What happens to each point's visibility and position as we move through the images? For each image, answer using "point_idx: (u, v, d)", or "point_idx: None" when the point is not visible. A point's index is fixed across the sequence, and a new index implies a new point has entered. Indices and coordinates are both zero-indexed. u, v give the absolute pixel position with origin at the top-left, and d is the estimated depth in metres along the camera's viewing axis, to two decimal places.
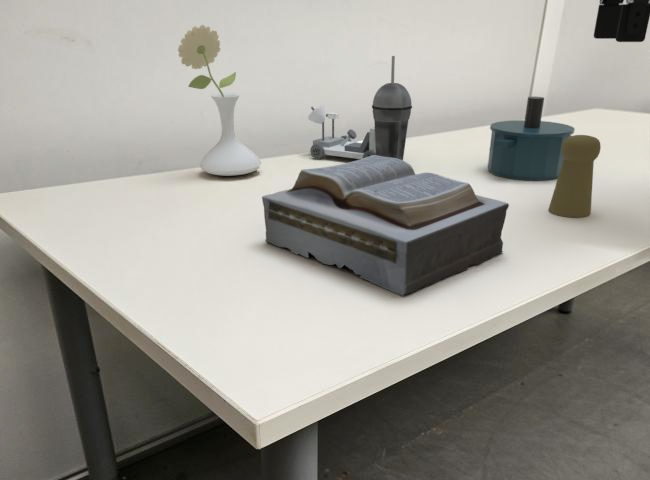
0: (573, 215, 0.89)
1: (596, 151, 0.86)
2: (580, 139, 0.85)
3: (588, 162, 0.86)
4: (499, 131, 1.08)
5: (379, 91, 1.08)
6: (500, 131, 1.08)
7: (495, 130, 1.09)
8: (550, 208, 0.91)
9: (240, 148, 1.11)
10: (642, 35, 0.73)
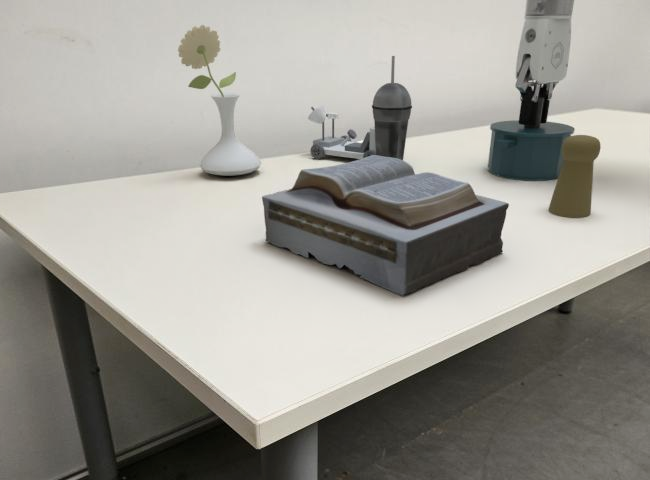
0: (573, 215, 0.89)
1: (596, 151, 0.86)
2: (580, 139, 0.85)
3: (588, 162, 0.86)
4: (499, 131, 1.08)
5: (379, 91, 1.08)
6: (500, 131, 1.08)
7: (495, 130, 1.09)
8: (550, 208, 0.91)
9: (240, 148, 1.11)
10: (533, 121, 1.08)
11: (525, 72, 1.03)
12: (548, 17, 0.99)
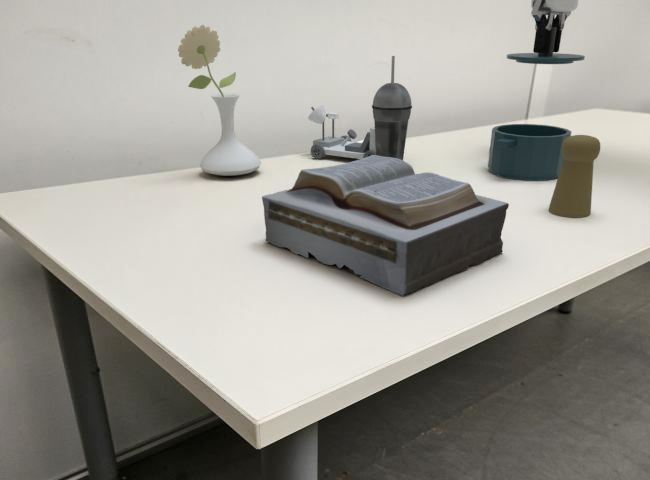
0: (573, 215, 0.89)
1: (596, 151, 0.86)
2: (580, 139, 0.85)
3: (588, 161, 0.86)
4: (515, 58, 1.17)
5: (379, 91, 1.08)
6: (516, 57, 1.17)
7: (511, 57, 1.18)
8: (550, 208, 0.91)
9: (240, 148, 1.11)
10: (546, 49, 1.17)
11: (540, 0, 1.12)
12: None
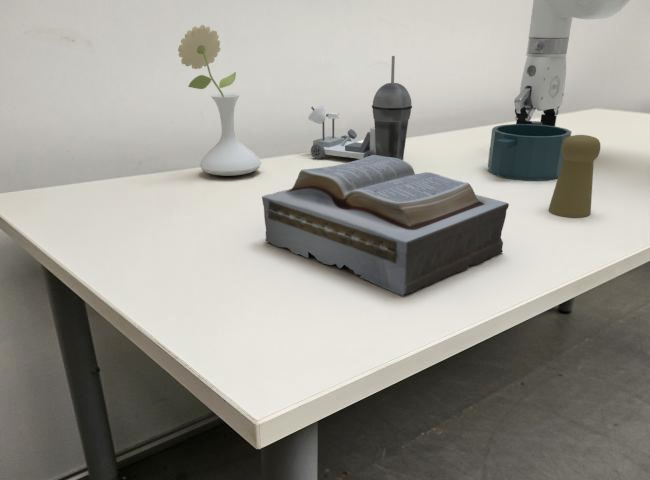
0: (573, 215, 0.89)
1: (596, 151, 0.86)
2: (580, 139, 0.85)
3: (588, 162, 0.86)
4: None
5: (379, 91, 1.08)
6: None
7: None
8: (550, 208, 0.91)
9: (240, 148, 1.11)
10: None
11: (525, 93, 1.19)
12: (546, 55, 1.17)
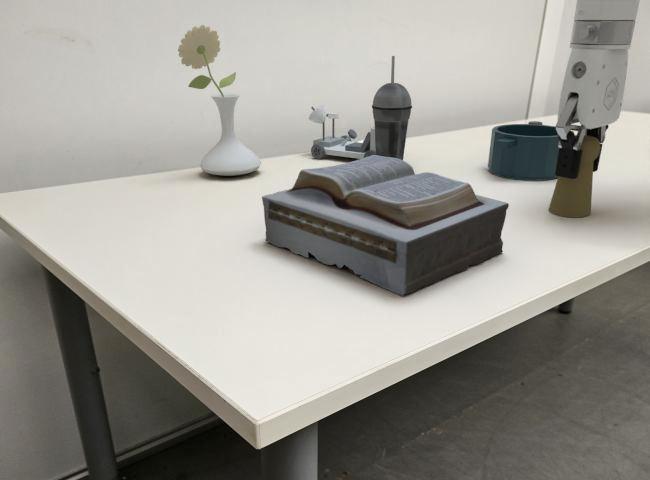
0: (573, 215, 0.89)
1: (596, 151, 0.86)
2: None
3: (587, 161, 0.86)
4: None
5: (379, 91, 1.08)
6: None
7: None
8: (550, 208, 0.91)
9: (240, 148, 1.11)
10: (574, 174, 0.86)
11: (570, 112, 0.81)
12: (602, 47, 0.78)
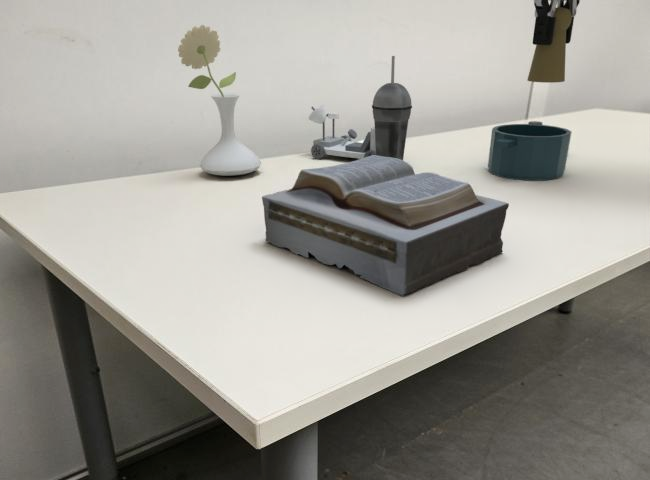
0: (549, 80, 1.01)
1: (568, 20, 0.97)
2: None
3: (560, 30, 0.98)
4: None
5: (379, 91, 1.08)
6: None
7: None
8: (529, 77, 1.03)
9: (240, 148, 1.11)
10: (549, 40, 0.98)
11: None
12: None
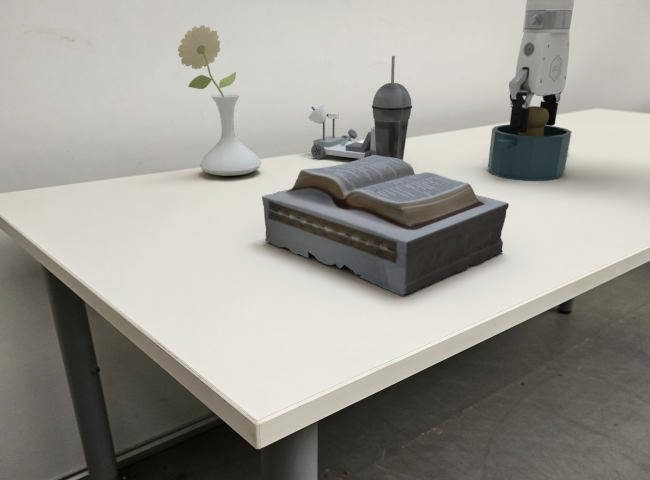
0: None
1: (545, 119, 1.08)
2: (532, 109, 1.08)
3: (538, 127, 1.09)
4: None
5: (379, 91, 1.08)
6: None
7: None
8: None
9: (240, 148, 1.11)
10: (523, 128, 1.06)
11: (521, 75, 1.02)
12: (546, 31, 1.00)
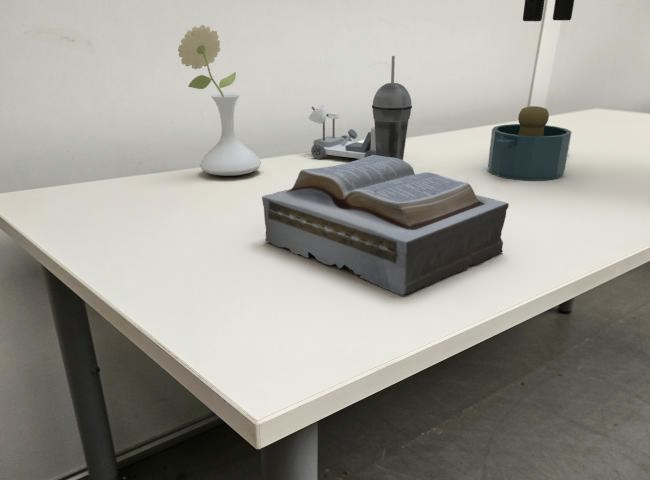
0: None
1: (545, 119, 1.08)
2: (532, 109, 1.08)
3: (538, 127, 1.09)
4: None
5: (379, 91, 1.08)
6: None
7: None
8: None
9: (240, 148, 1.11)
10: (538, 16, 0.98)
11: None
12: None
